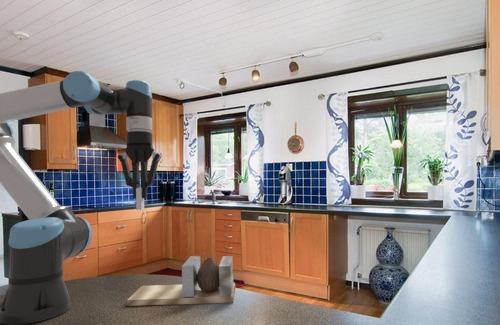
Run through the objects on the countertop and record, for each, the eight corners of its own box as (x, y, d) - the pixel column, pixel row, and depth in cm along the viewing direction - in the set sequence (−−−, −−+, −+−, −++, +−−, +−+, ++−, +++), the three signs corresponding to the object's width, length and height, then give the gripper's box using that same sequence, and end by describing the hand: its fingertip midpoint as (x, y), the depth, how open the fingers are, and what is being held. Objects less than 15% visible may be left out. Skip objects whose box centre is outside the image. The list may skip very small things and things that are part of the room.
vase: (192, 292, 91) (191, 260, 91) (206, 285, 97) (206, 255, 97) (212, 295, 88) (212, 262, 88) (226, 288, 94) (225, 256, 94)
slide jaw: (182, 297, 86) (181, 266, 87) (190, 283, 98) (190, 256, 99) (193, 296, 86) (193, 265, 87) (200, 282, 98) (200, 255, 99)
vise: (127, 305, 86) (126, 269, 87) (142, 290, 98) (141, 258, 99) (233, 302, 86) (232, 265, 87) (235, 287, 98) (234, 255, 99)
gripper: (113, 130, 97) (113, 211, 95) (157, 129, 97) (158, 209, 95) (123, 134, 104) (123, 209, 103) (164, 133, 104) (165, 207, 103)
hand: (140, 209), depth 99 cm, fingers closed
